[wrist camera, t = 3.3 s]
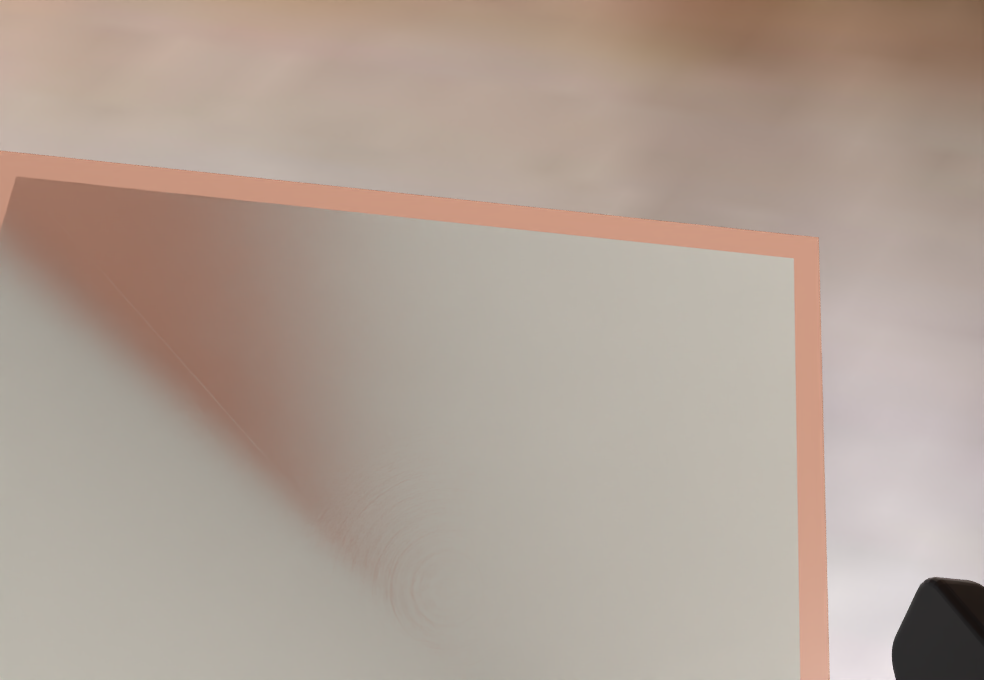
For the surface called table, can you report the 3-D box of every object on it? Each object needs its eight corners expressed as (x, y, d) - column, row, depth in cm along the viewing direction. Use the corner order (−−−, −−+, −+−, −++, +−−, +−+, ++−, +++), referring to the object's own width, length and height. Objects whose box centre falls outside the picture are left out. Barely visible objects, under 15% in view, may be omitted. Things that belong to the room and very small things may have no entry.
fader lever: (611, 776, 12) (1383, 1666, 2) (208, 739, 12) (-1009, 1507, 2) (625, 445, 14) (1129, 38, 4) (265, 409, 14) (-272, -119, 3)
